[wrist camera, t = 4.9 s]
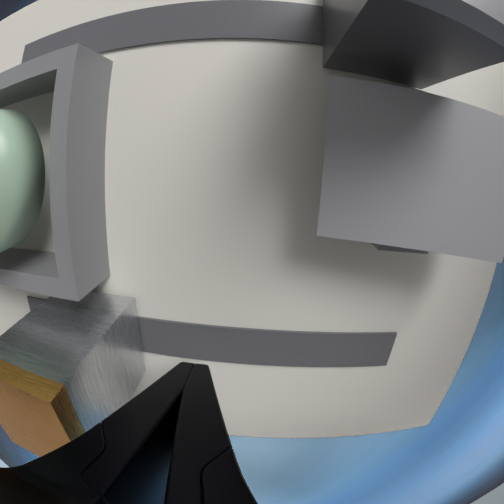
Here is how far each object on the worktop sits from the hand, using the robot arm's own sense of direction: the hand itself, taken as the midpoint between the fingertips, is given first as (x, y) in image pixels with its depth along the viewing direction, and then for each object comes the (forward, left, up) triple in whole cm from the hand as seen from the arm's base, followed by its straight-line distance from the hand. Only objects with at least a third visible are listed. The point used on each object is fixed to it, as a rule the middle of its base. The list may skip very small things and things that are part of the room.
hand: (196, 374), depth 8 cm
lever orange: (+4, 0, -1) cm, 4 cm away
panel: (+1, -4, -3) cm, 5 cm away
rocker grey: (-5, -6, 0) cm, 8 cm away
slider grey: (-4, -10, -1) cm, 11 cm away
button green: (+7, -6, 0) cm, 9 cm away
